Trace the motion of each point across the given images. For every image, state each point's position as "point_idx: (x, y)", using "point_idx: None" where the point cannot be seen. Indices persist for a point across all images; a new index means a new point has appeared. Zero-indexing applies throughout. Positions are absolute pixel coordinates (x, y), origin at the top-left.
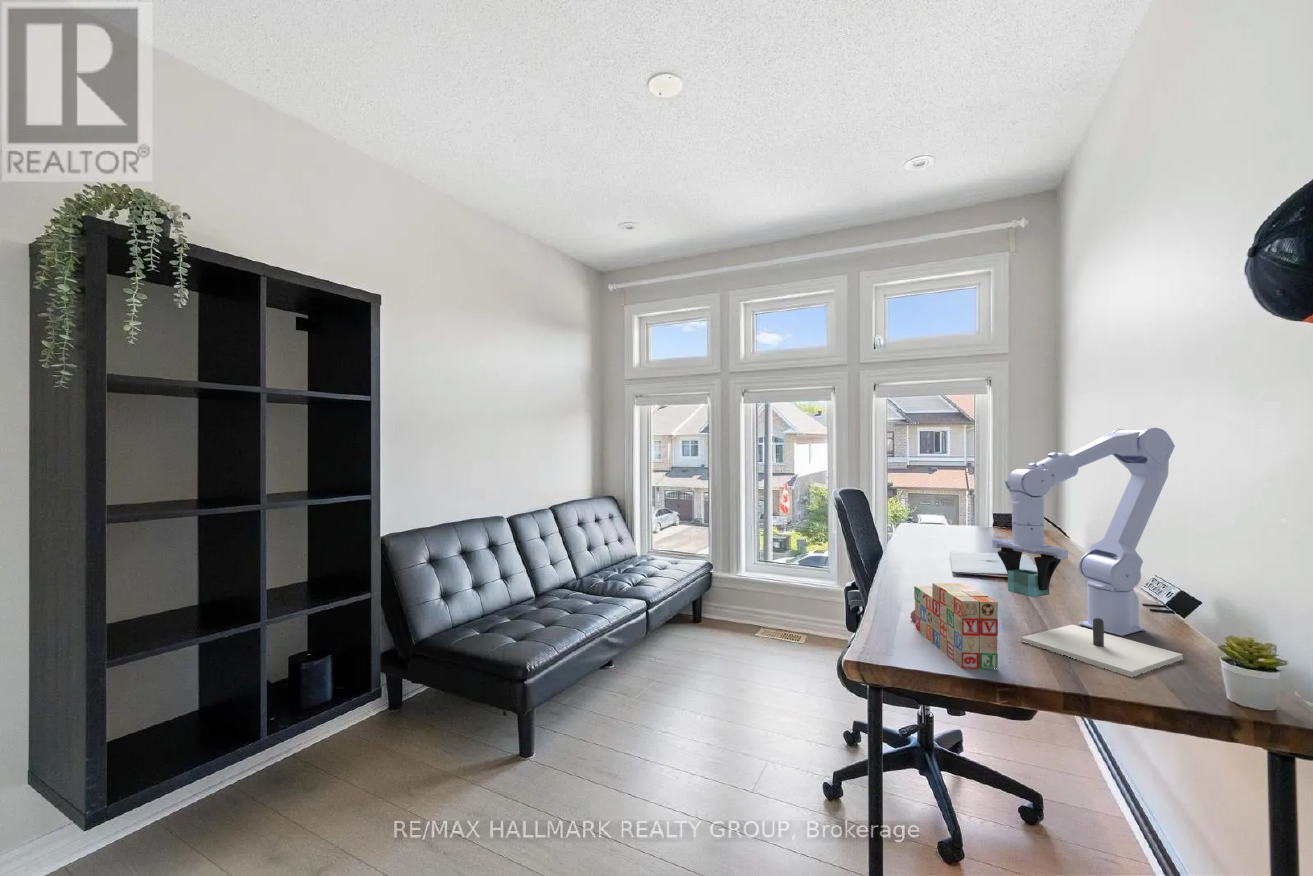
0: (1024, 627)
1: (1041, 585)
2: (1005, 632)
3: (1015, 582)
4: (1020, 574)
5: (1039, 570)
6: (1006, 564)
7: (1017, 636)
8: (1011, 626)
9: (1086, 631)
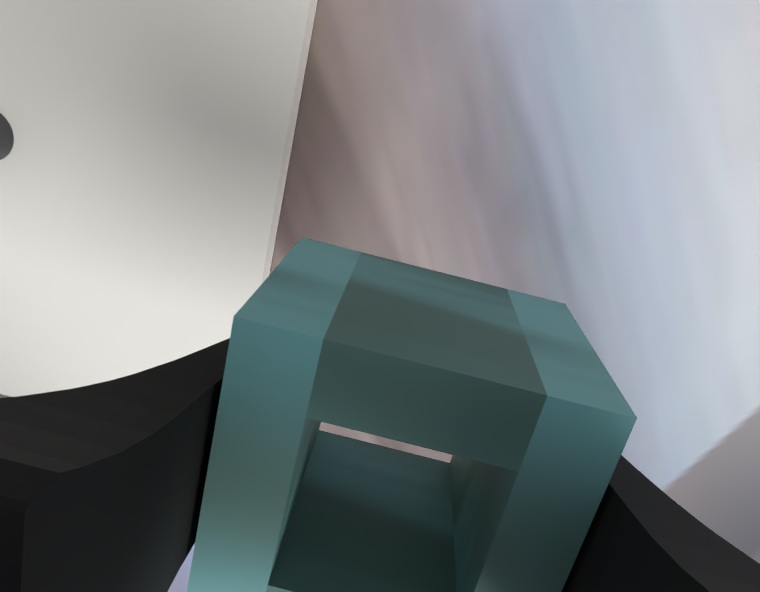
0: (430, 263)
1: (217, 343)
2: (484, 35)
3: (500, 329)
4: (436, 359)
5: (137, 413)
6: (709, 549)
7: (400, 8)
8: (495, 218)
9: (136, 372)
